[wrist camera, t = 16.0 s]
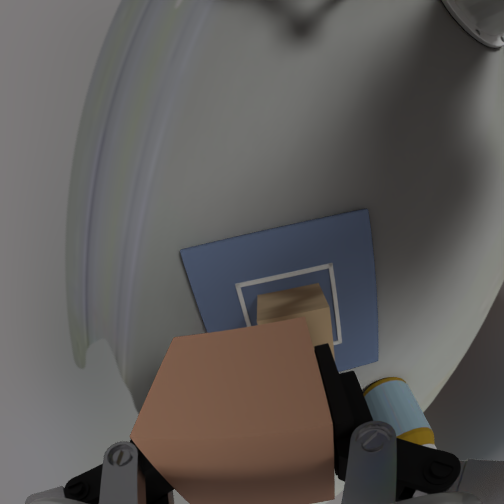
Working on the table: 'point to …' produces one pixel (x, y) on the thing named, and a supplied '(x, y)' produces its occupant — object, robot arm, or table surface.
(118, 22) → the table surface
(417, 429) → the bottle
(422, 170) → the table surface
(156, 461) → the terracotta cube
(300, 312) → the oak block
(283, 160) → the table surface
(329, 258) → the board
